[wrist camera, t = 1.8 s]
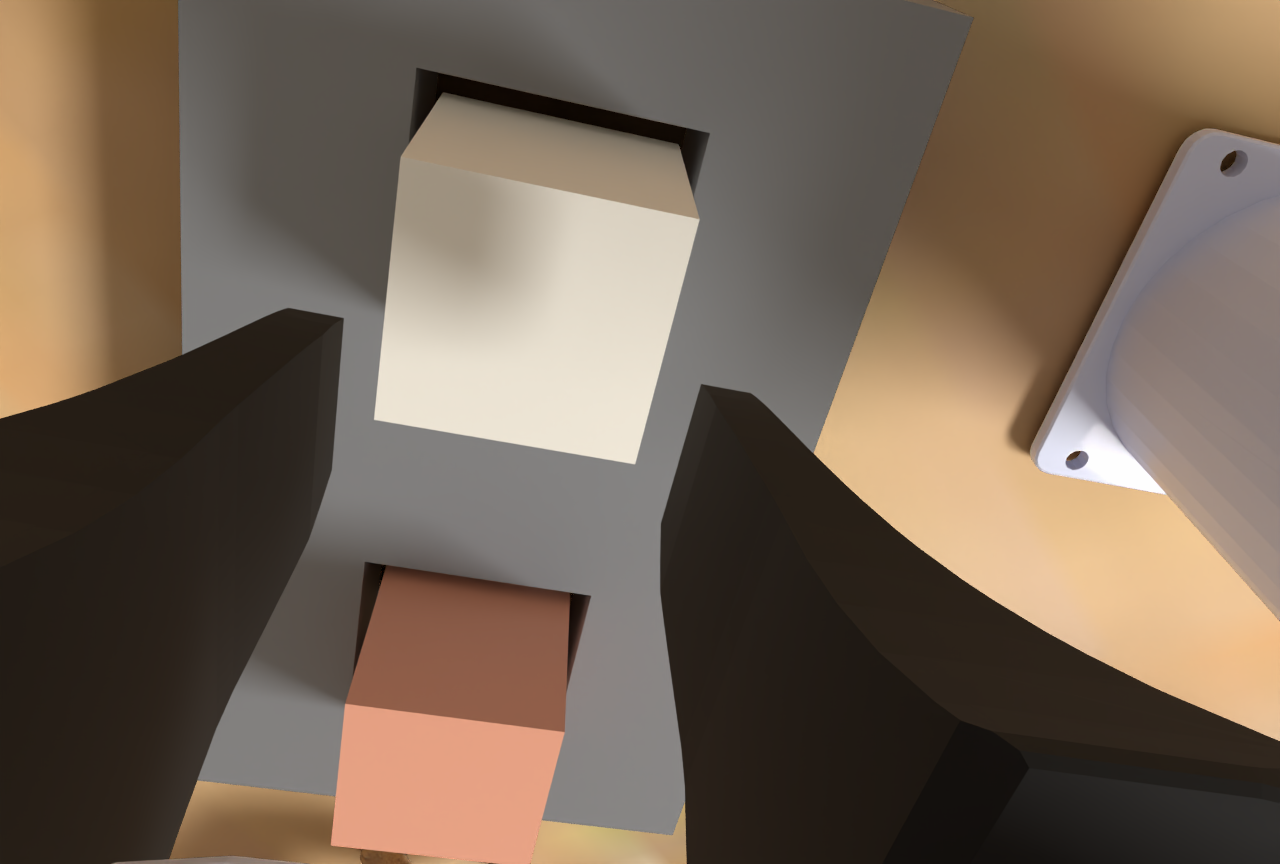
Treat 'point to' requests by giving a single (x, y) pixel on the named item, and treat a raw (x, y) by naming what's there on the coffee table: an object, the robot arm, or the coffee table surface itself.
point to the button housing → (505, 472)
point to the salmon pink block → (453, 718)
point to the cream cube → (532, 279)
